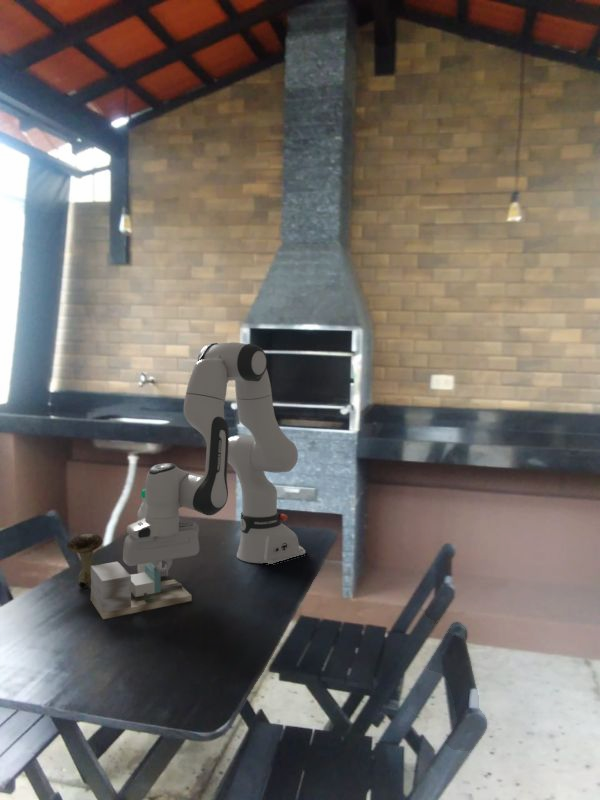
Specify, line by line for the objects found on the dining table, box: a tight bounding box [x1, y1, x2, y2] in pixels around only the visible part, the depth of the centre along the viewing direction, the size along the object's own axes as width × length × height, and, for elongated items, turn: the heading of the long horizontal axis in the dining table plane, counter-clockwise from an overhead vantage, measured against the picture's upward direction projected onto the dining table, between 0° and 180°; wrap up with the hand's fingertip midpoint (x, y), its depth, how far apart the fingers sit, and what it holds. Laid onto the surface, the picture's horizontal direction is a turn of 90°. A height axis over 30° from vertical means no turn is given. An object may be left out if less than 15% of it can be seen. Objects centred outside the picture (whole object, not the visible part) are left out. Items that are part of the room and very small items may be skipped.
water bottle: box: [136, 488, 163, 574], centre depth 184 cm, size 7×7×25 cm
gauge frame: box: [90, 561, 193, 620], centre depth 164 cm, size 23×13×10 cm, turn 121°
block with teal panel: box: [129, 564, 162, 598], centre depth 163 cm, size 7×10×5 cm, turn 31°
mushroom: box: [66, 533, 104, 589], centre depth 172 cm, size 9×9×15 cm
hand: (161, 575), depth 167 cm, fingers closed
